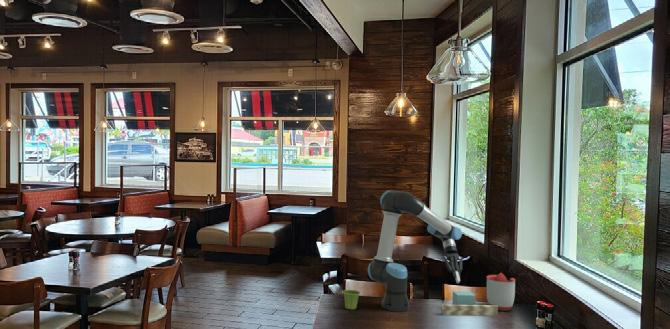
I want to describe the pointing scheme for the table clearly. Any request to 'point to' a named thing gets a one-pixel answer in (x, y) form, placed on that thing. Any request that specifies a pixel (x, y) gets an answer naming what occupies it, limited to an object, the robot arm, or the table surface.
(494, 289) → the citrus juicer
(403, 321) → the table surface
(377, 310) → the table surface
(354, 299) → the plant pot
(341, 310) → the table surface
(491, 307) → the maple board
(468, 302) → the teal block
